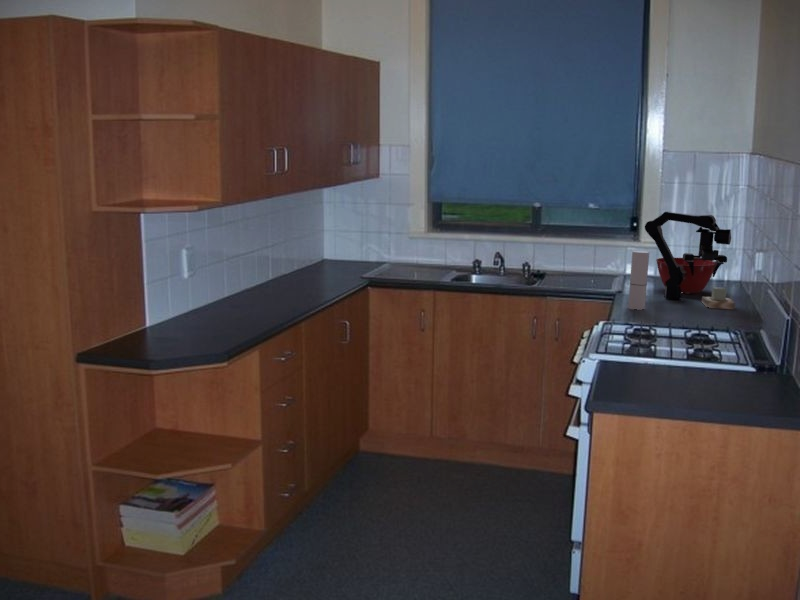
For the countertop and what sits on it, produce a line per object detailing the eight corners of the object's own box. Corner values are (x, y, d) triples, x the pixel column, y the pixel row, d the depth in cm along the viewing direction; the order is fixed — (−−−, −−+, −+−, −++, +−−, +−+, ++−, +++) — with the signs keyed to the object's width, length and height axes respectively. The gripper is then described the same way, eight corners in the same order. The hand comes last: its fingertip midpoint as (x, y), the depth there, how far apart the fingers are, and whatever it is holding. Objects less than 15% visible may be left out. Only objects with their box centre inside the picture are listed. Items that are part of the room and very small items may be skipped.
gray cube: (713, 299, 401) (714, 288, 401) (711, 297, 406) (712, 287, 405) (725, 300, 401) (726, 289, 400) (722, 298, 406) (723, 287, 405)
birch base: (706, 307, 399) (707, 300, 399) (701, 302, 411) (702, 296, 410) (734, 309, 398) (735, 302, 397) (728, 304, 409) (729, 297, 409)
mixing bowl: (649, 293, 433) (652, 261, 430) (657, 285, 459) (659, 255, 456) (711, 299, 422) (714, 266, 419) (715, 290, 448) (718, 259, 445)
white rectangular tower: (643, 307, 396) (647, 251, 391) (645, 310, 389) (650, 253, 384) (626, 306, 396) (631, 250, 392) (629, 309, 389) (633, 252, 385)
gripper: (688, 243, 401) (685, 278, 404) (731, 245, 399) (728, 280, 402) (683, 241, 412) (680, 274, 415) (725, 242, 410) (722, 276, 412)
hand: (703, 276), depth 411 cm, fingers open, 9 cm apart
